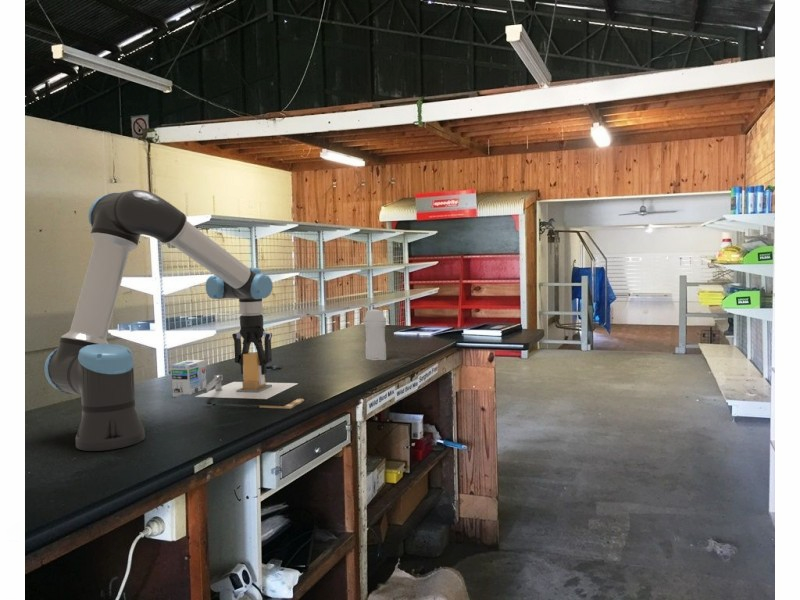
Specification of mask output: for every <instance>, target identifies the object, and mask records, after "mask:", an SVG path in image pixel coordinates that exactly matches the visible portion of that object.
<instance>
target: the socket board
mask: <svg viewBox="0 0 800 600" xmlns="http://www.w3.org/2000/svg"><path fill="white" fill-rule="evenodd" d="M242 382H243V381H232V382H230V383H227V384H225V385H222V381H218V382H217V383H216V384H215V385H214V387H215V388H213V389H210V390H209V391H208V392H207V393H203V392H202V393H201V394H198V395H195V396H194V397H195V398H224V399H225V398H226V399H250V400H251V399H252V400H253V399H257V400H268V399H270V398H272V397H274V396H276V395H278V394H280V393H282V392H284V391H286V390H288V389H290V388H292V387H294V386H296V385H298V384H299V383H296V382H266V386H265V387H263V388H261V389H259V390H243V385H242Z"/></svg>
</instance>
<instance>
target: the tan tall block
mask: <svg viewBox="0 0 800 600" xmlns="http://www.w3.org/2000/svg"><path fill="white" fill-rule="evenodd" d="M259 364H260V361H259V357H258V354H257V351H256V352H253V351H252V352H250V351H249V353H246V354H243V365H244V379H243V381H241V382H242V385H243V390H259V389H261V388H263V387H265V386H266V383H267V381H266V379H267V378H265V384H263V385H259V374H258V365H259Z"/></svg>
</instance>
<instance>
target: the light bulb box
mask: <svg viewBox="0 0 800 600" xmlns="http://www.w3.org/2000/svg"><path fill="white" fill-rule="evenodd" d="M170 366H171V382H172V385H171V386H172V397H173V398H178V397H180V396H184V395H186V396H187V395H193V394H195V393H198V392H200V391H203V388H204V387H205V386H206V385H207V371H206V369H207V366H206V360H205V359H187V360H184V361H180V362H177V363H173V364H171V365H170Z"/></svg>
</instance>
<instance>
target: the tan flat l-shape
mask: <svg viewBox="0 0 800 600" xmlns="http://www.w3.org/2000/svg"><path fill="white" fill-rule="evenodd" d="M303 402H305V399H304V398H295V399H292V401H289V402H288V403H286V404H263V403H262V404H260V405H259V409H260V408H261V409H262V408H265V409H266V408H267V409H293V408H294V407H296V406H298V405H300V404H302V403H303Z"/></svg>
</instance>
